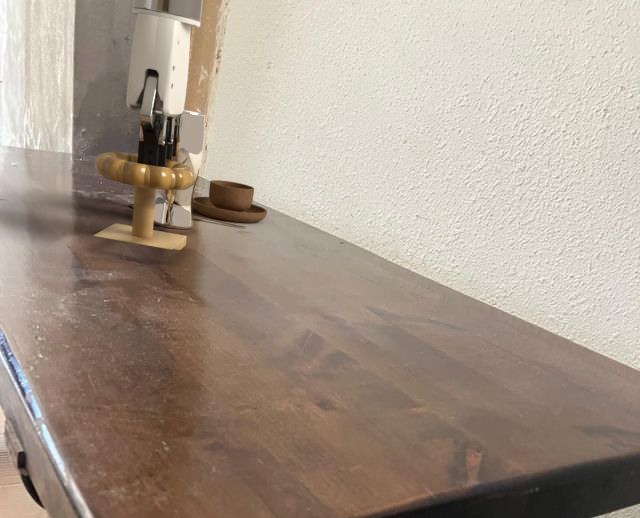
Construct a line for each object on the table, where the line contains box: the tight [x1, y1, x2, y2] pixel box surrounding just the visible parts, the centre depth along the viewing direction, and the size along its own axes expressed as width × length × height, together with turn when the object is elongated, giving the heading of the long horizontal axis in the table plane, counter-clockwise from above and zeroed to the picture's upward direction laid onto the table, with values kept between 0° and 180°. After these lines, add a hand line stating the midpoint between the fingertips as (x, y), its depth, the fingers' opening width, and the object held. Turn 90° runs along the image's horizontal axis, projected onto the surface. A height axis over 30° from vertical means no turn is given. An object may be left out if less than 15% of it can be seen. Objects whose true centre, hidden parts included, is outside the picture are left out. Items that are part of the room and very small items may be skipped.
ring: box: [93, 151, 197, 190], centre depth 86 cm, size 11×11×2 cm
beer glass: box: [153, 108, 206, 230], centre depth 101 cm, size 7×7×15 cm
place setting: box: [129, 179, 268, 228], centre depth 117 cm, size 18×20×6 cm
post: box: [93, 186, 188, 251], centre depth 88 cm, size 9×9×8 cm
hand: (153, 175), depth 90 cm, fingers closed on ring, 2 cm apart
